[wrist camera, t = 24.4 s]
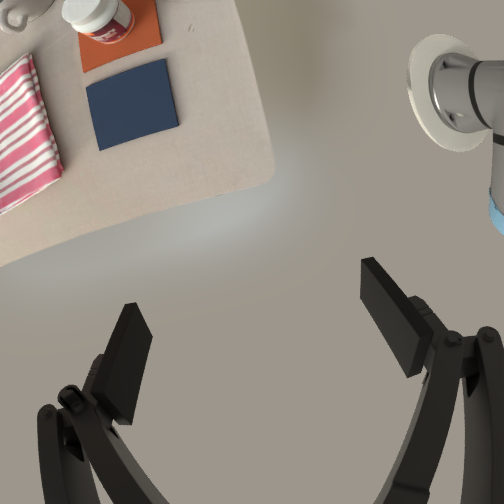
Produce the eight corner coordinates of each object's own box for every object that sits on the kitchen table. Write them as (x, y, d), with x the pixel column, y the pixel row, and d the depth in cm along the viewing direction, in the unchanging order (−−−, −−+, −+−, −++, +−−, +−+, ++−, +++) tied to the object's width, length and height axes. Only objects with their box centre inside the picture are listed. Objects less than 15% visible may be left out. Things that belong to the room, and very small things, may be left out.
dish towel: (7, 213, 37) (-4, 220, 34) (-26, 103, 27) (-38, 105, 24) (69, 174, 36) (58, 180, 33) (34, 49, 26) (22, 47, 23)
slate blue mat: (165, 59, 31) (164, 58, 30) (178, 126, 35) (178, 126, 35) (87, 87, 31) (85, 87, 31) (100, 150, 36) (99, 150, 35)
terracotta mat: (152, -16, 25) (151, -18, 24) (162, 43, 30) (161, 42, 29) (77, 14, 25) (76, 13, 24) (84, 72, 30) (83, 72, 29)
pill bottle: (94, 48, 28) (54, 33, 18) (97, 13, 25) (60, -10, 15) (134, 39, 28) (103, 17, 18) (137, 3, 26) (109, -27, 16)
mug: (22, -8, 19) (-13, -20, 9) (61, -28, 20) (28, -48, 10) (15, 46, 25) (-27, 41, 15) (53, 27, 25) (13, 14, 15)
